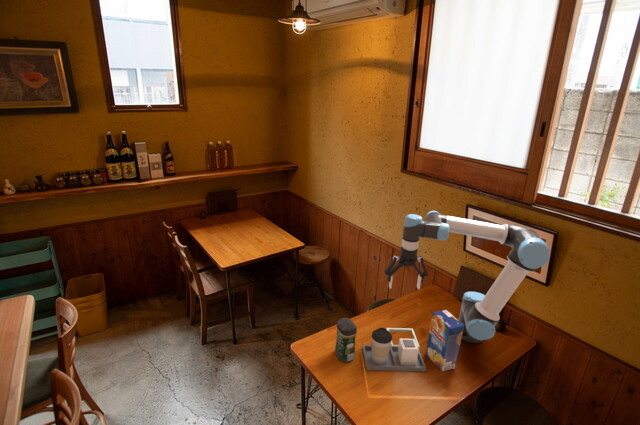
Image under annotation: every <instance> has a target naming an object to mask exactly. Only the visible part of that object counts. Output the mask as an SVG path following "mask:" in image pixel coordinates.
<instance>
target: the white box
mask: <svg viewBox="0 0 640 425" xmlns="http://www.w3.org/2000/svg"><path fill="white" fill-rule="evenodd" d="M398 340H399V341H398V345H399V346H398V353H397V354H398V358H399V361H400V364H401V365H415V366H416V363H417V357H418V351H420V348H419V349H418V346H417V344H416V341H415V339H414V338H401V337H400V338H399V339H398Z"/></svg>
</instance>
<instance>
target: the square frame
mask: <svg viewBox="0 0 640 425" xmlns="http://www.w3.org/2000/svg"><path fill="white" fill-rule="evenodd" d="M385 329H386V330H388V331H389V332H408V333H410V332H411V333H412V336H413V339H415V341H416V344H417V346H418V348H419V349H420V347H421V346H420V344H419V341H418V339H417V336H416V333H415V331H414V328H408V327H407V328H405V327H404V328H402V327H386V328H385ZM391 346H399V344H394V343H393V340H392V341H391Z"/></svg>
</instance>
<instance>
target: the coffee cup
mask: <svg viewBox="0 0 640 425" xmlns="http://www.w3.org/2000/svg"><path fill="white" fill-rule="evenodd" d="M386 329H387V328H385V327H378V328H376V329H374V330H373V331H372V332H371V345H372V360H373V362H374V363H376V364H380V365H382V364H385V363H386V362H387V358H388V355H389V350H390V346H391V341H392V342H393V335H392V333H391V331H388V330H386Z"/></svg>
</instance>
